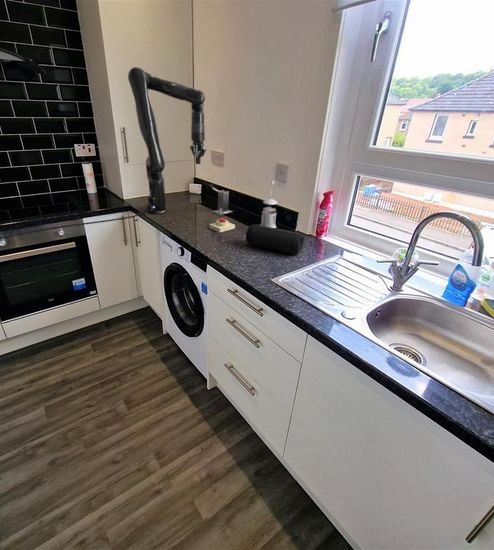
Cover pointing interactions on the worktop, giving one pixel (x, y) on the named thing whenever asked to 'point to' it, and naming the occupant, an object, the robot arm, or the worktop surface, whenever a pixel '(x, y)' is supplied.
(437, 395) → the worktop surface
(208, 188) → the lever
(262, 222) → the french press
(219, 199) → the bracket
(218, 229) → the control block
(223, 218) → the button
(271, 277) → the worktop surface
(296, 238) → the portable speaker
